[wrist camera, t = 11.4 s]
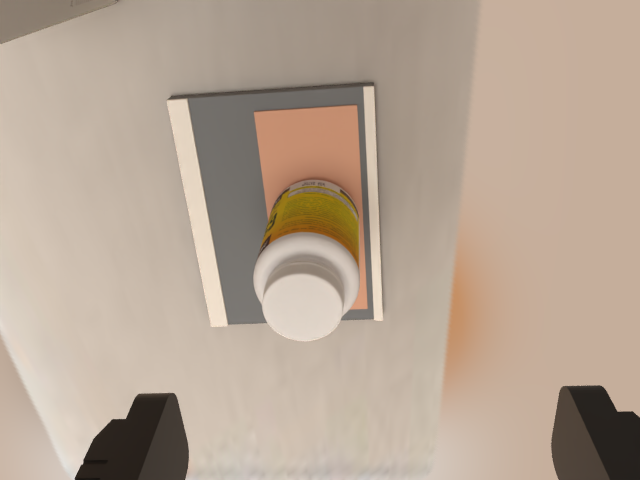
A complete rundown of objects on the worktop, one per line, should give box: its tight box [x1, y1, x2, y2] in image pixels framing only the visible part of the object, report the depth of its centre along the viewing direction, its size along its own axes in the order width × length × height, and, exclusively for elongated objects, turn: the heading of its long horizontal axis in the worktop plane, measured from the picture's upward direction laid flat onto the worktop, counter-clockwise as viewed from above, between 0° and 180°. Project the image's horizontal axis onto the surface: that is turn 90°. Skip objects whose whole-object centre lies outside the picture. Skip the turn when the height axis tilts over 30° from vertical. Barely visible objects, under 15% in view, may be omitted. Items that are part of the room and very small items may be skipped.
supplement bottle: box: [253, 180, 360, 341], centre depth 33 cm, size 6×6×10 cm
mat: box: [167, 83, 383, 327], centre depth 39 cm, size 12×16×1 cm
